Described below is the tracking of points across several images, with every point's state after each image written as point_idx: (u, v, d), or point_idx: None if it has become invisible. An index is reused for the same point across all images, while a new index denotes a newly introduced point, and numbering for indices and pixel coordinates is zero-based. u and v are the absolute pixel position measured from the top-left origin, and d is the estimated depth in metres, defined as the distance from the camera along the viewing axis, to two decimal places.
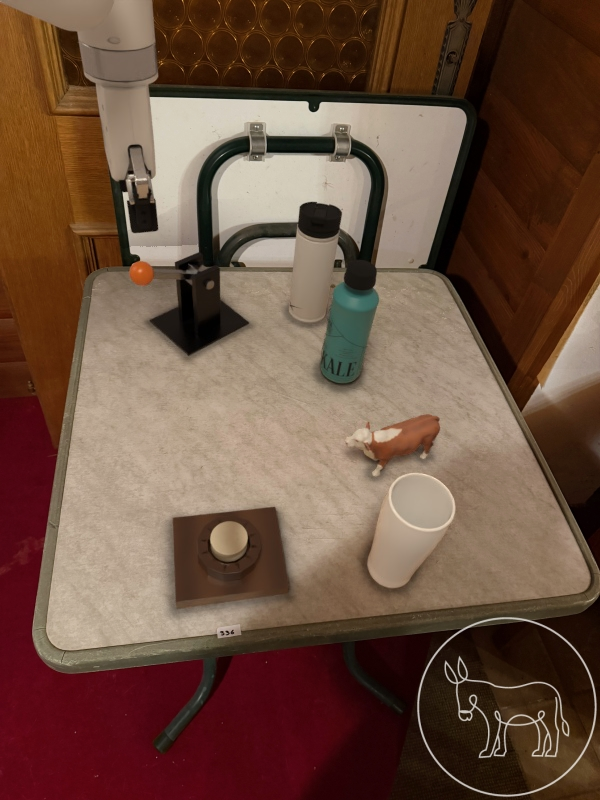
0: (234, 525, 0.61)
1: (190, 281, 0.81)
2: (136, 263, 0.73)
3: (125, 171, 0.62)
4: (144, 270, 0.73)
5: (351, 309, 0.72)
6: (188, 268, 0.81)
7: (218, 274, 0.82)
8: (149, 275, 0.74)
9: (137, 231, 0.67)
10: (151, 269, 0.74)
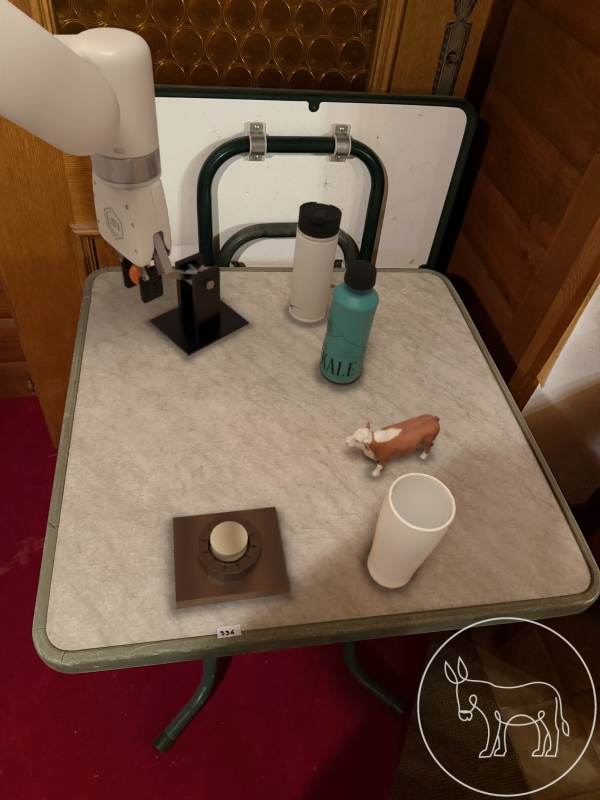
0: (234, 525, 0.61)
1: (190, 281, 0.81)
2: None
3: None
4: None
5: (351, 309, 0.72)
6: (188, 268, 0.81)
7: (218, 274, 0.82)
8: None
9: (148, 301, 0.75)
10: None
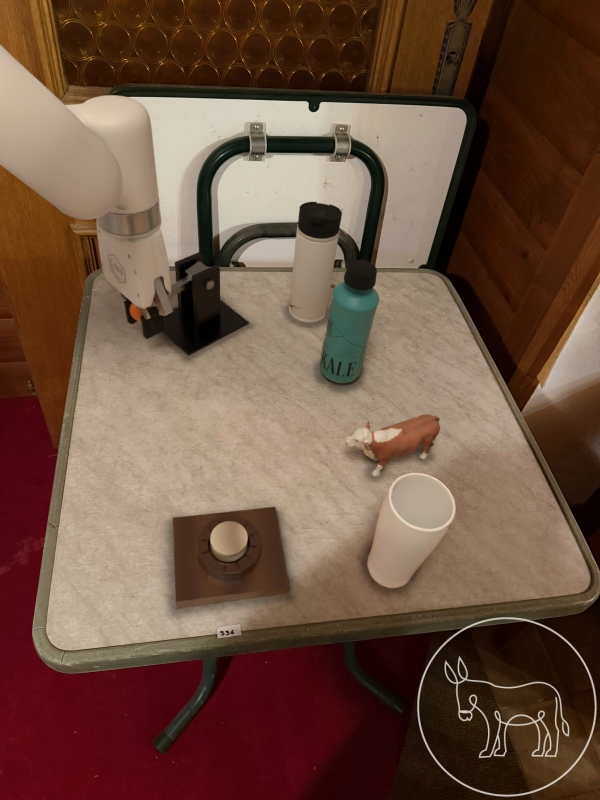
0: (234, 525, 0.61)
1: None
2: (132, 305, 0.77)
3: None
4: (140, 311, 0.77)
5: (351, 309, 0.72)
6: (186, 274, 0.82)
7: (218, 274, 0.82)
8: None
9: (149, 336, 0.80)
10: None
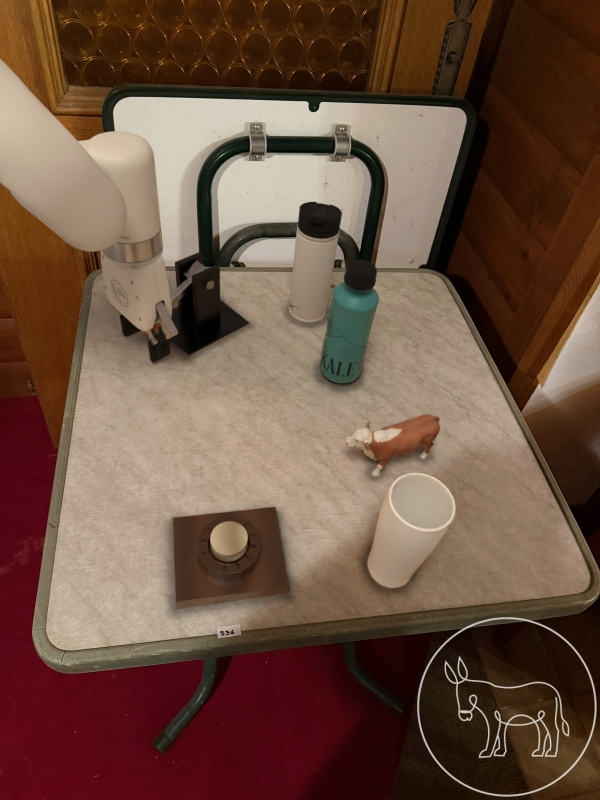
0: (234, 525, 0.61)
1: None
2: None
3: None
4: None
5: (351, 309, 0.72)
6: (185, 276, 0.82)
7: (218, 274, 0.82)
8: None
9: (156, 360, 0.81)
10: None
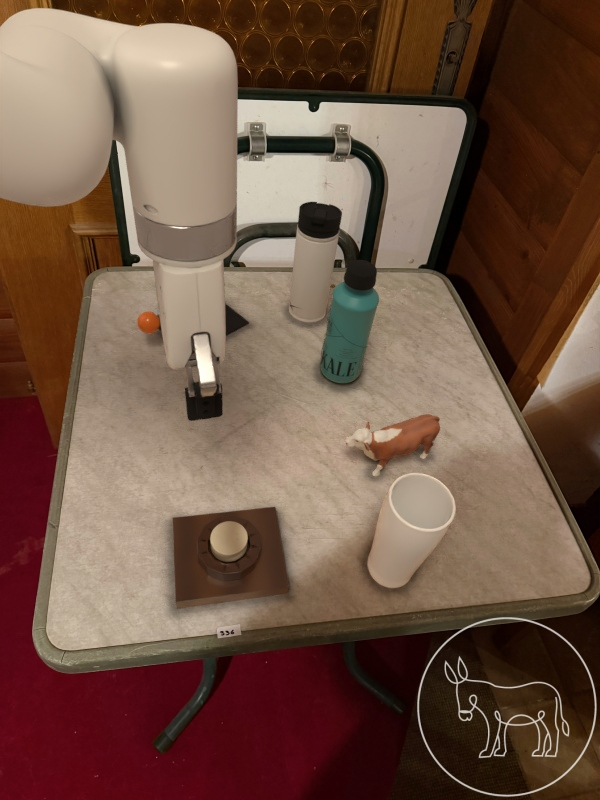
0: (234, 525, 0.61)
1: None
2: (138, 321, 0.80)
3: (185, 360, 0.46)
4: (146, 325, 0.80)
5: (351, 309, 0.72)
6: None
7: None
8: (153, 326, 0.80)
9: (195, 418, 0.51)
10: (151, 319, 0.80)
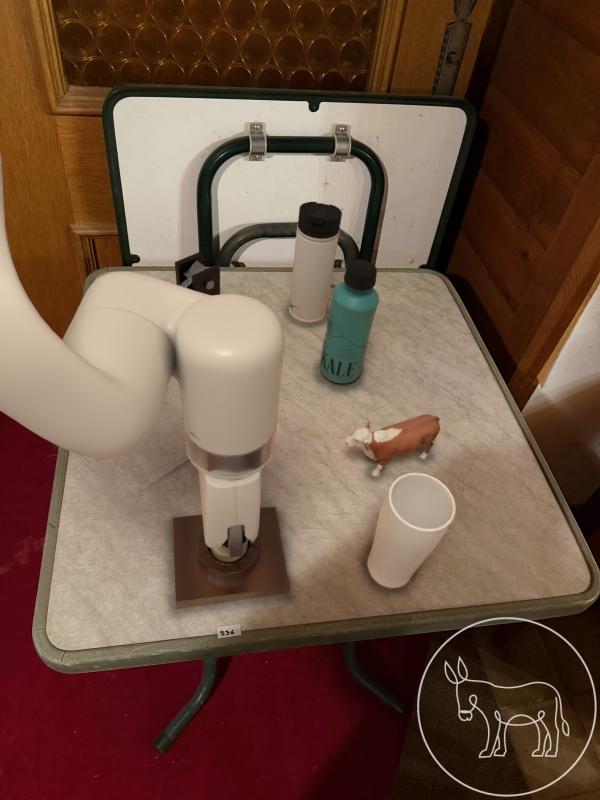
0: None
1: None
2: None
3: None
4: None
5: (351, 309, 0.72)
6: (185, 276, 0.82)
7: (218, 274, 0.82)
8: None
9: (223, 544, 0.59)
10: None
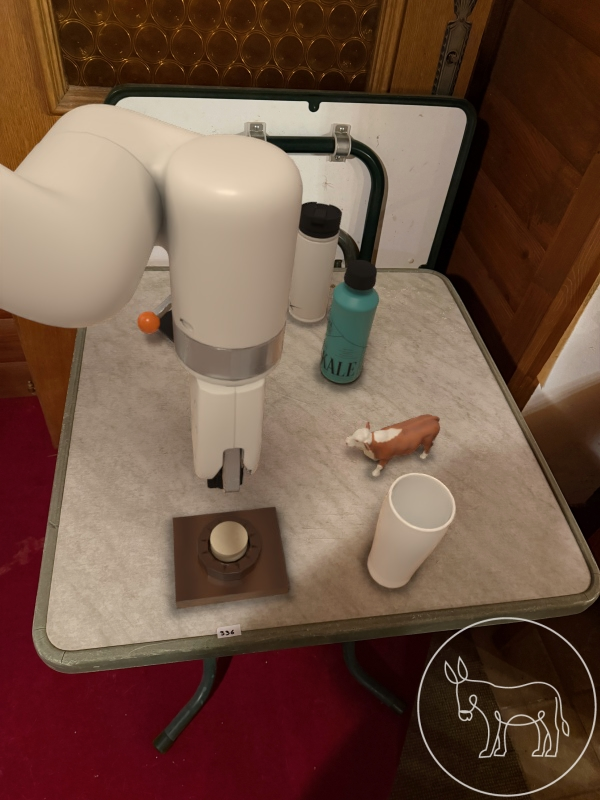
0: (234, 525, 0.61)
1: None
2: (138, 321, 0.80)
3: None
4: (146, 325, 0.80)
5: (351, 309, 0.72)
6: None
7: None
8: (153, 326, 0.80)
9: (215, 486, 0.51)
10: (151, 319, 0.80)
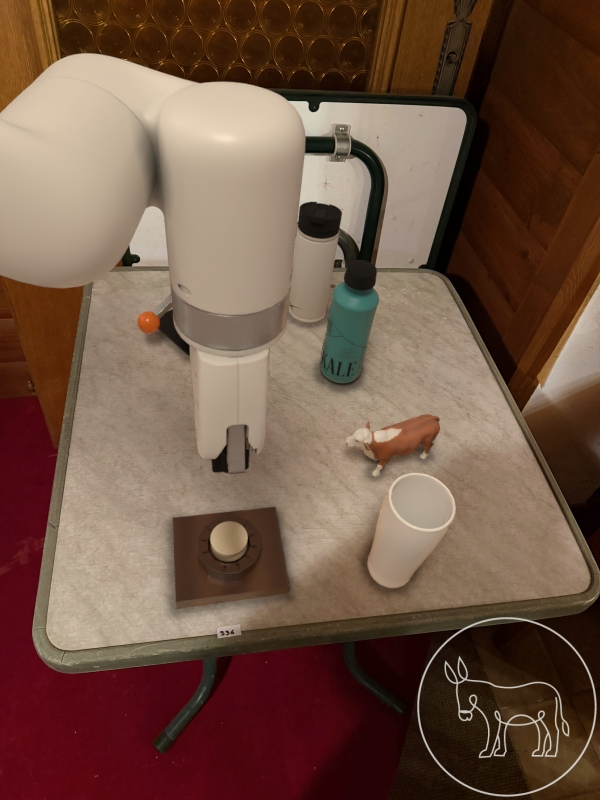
0: (234, 525, 0.61)
1: None
2: (138, 321, 0.80)
3: None
4: (146, 325, 0.80)
5: (351, 309, 0.72)
6: None
7: None
8: (153, 326, 0.80)
9: (220, 471, 0.49)
10: (151, 319, 0.80)
